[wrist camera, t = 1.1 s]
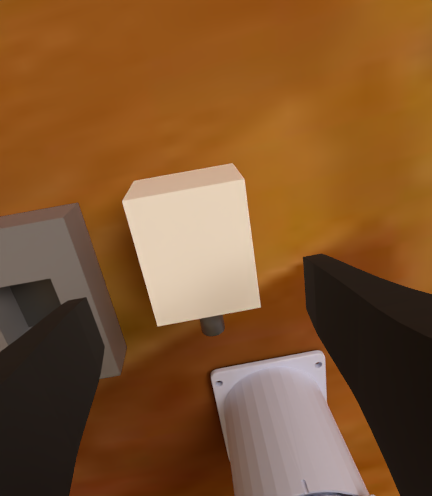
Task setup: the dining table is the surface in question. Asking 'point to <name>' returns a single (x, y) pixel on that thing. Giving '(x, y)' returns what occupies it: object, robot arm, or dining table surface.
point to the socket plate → (53, 277)
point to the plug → (194, 245)
